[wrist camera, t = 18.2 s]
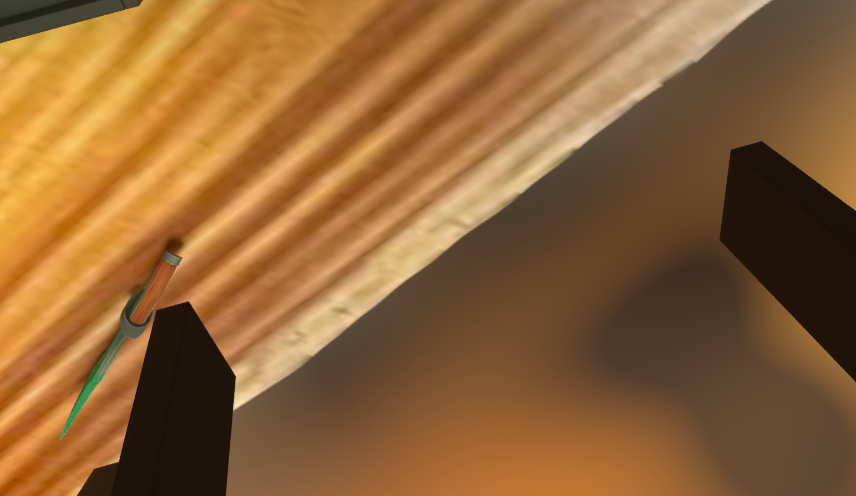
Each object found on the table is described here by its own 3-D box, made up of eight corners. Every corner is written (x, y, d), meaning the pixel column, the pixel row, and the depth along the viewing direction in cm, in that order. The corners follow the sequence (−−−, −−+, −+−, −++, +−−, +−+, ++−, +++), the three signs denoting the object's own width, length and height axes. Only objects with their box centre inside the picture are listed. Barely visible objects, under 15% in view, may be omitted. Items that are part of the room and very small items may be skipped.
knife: (165, 229, 45) (154, 271, 41) (191, 240, 46) (182, 282, 42) (66, 393, 53) (49, 442, 49) (91, 400, 54) (76, 448, 50)
